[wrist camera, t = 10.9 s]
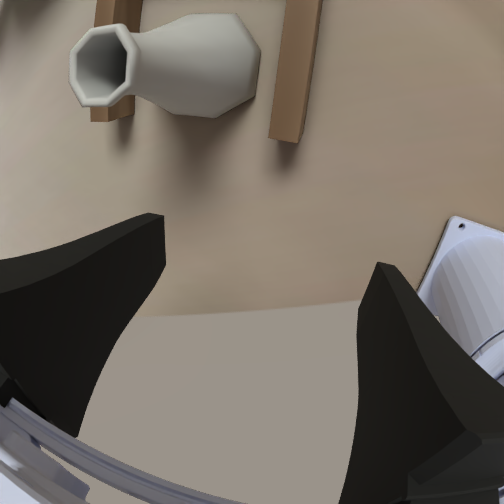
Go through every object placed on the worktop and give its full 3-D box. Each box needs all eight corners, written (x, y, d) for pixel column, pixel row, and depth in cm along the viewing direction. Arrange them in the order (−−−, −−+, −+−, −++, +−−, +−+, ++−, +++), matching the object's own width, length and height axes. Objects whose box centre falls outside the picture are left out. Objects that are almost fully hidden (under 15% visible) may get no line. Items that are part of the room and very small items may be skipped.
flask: (249, -2, 14) (169, -61, 6) (273, 107, 17) (214, 138, 9) (144, 32, 16) (25, 29, 8) (167, 129, 19) (60, 179, 11)
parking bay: (329, -59, 11) (327, -79, 8) (302, 133, 18) (297, 143, 15) (133, -50, 12) (108, -59, 10) (117, 113, 19) (90, 121, 17)
